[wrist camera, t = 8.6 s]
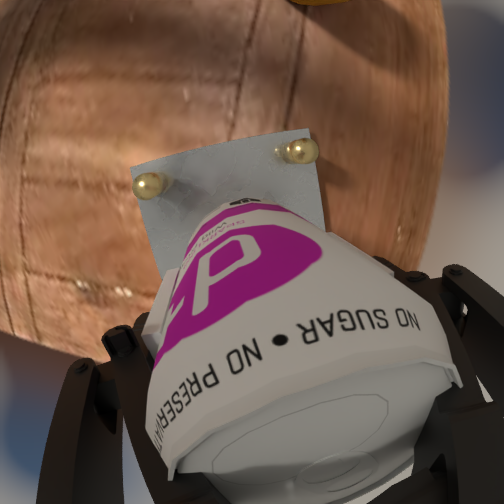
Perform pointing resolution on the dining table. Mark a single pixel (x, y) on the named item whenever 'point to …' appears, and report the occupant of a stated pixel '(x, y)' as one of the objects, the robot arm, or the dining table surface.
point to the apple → (318, 2)
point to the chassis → (224, 186)
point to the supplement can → (291, 363)
